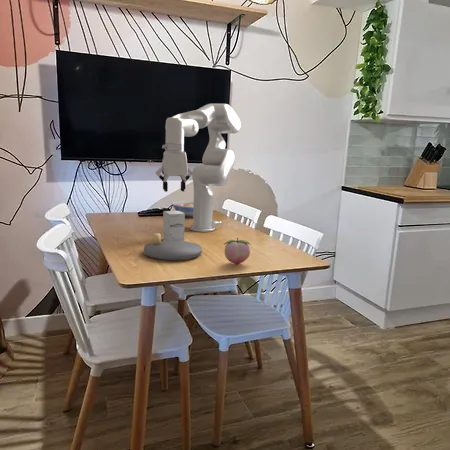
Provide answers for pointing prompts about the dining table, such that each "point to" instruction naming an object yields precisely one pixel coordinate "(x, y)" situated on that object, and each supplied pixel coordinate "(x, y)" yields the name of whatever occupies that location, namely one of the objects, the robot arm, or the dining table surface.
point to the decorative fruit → (237, 251)
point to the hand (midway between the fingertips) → (174, 190)
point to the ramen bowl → (184, 207)
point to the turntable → (171, 249)
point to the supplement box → (173, 225)
